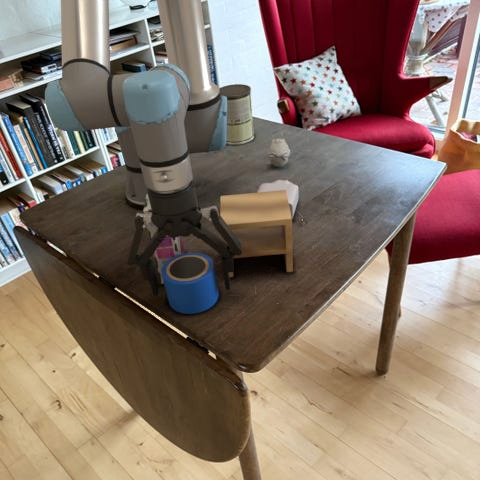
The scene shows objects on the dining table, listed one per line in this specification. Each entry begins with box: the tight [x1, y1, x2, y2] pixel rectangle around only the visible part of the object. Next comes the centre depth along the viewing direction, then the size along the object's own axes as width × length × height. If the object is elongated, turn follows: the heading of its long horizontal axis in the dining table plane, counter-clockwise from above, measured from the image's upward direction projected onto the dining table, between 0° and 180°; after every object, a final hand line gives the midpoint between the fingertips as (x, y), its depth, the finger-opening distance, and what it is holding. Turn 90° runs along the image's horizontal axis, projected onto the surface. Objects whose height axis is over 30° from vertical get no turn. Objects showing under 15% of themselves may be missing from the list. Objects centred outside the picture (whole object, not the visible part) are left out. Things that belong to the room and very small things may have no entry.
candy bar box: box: [142, 193, 186, 285], centre depth 90 cm, size 11×5×16 cm, turn 4°
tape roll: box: [161, 252, 220, 315], centre depth 85 cm, size 10×10×7 cm
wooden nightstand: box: [219, 190, 294, 278], centre depth 91 cm, size 11×13×12 cm
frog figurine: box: [267, 138, 291, 168], centre depth 123 cm, size 6×7×7 cm
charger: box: [256, 179, 299, 220], centre depth 109 cm, size 5×9×15 cm
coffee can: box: [219, 83, 255, 146], centre depth 137 cm, size 10×10×14 cm
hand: (192, 288), depth 86 cm, fingers open, 13 cm apart
